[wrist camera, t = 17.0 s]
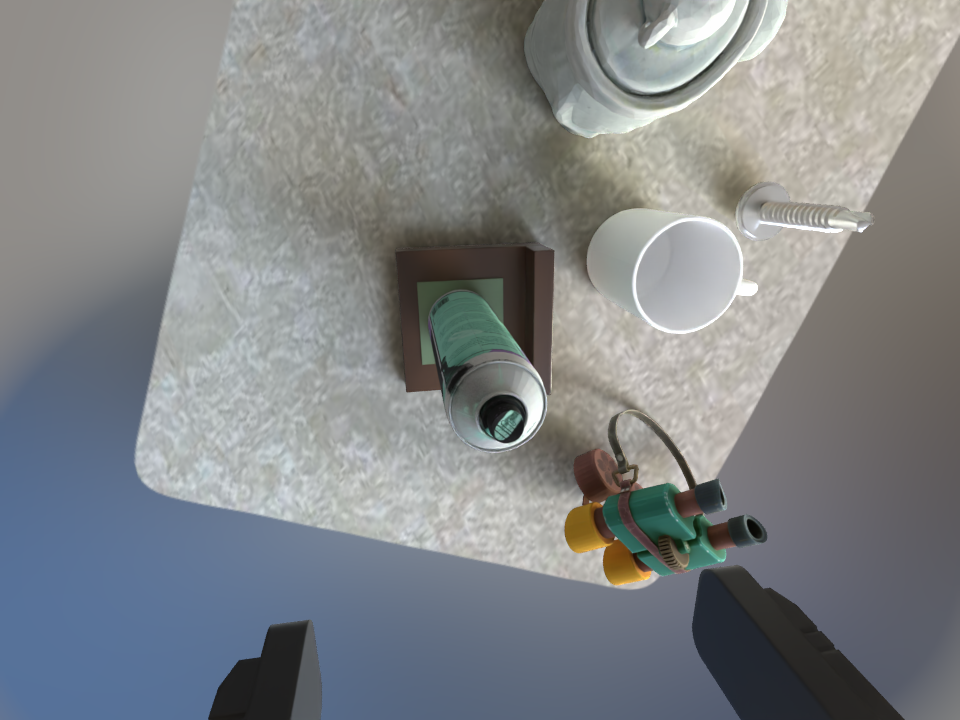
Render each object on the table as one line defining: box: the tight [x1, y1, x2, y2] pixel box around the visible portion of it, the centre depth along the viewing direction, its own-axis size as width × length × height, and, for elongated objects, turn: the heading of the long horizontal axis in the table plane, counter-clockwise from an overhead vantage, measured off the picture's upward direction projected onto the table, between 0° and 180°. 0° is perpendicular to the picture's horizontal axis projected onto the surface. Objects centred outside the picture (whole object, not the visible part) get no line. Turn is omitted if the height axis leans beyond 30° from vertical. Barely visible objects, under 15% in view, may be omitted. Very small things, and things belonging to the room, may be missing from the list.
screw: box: [735, 182, 875, 241], centre depth 41 cm, size 13×5×5 cm
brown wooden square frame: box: [396, 242, 554, 395], centre depth 44 cm, size 12×12×5 cm
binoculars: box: [565, 410, 767, 585], centre depth 47 cm, size 14×14×15 cm
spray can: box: [428, 289, 547, 453], centre depth 35 cm, size 6×6×20 cm
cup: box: [587, 208, 757, 333], centre depth 43 cm, size 8×12×10 cm
